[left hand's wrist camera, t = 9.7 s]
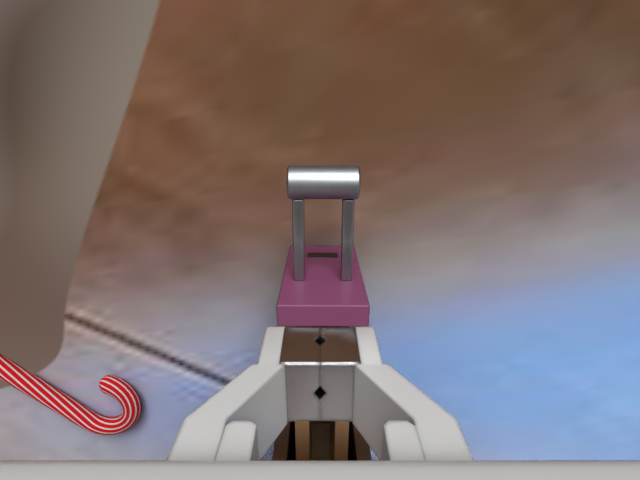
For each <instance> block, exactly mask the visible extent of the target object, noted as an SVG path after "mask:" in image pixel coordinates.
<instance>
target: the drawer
mask: <svg viewBox="0 0 640 480" xmlns="http://www.w3.org/2000/svg"><path fill="white" fill-rule="evenodd" d="M287 194H288V198H289V199H293V200H292V218H293V246H290V249H289V254H288V258H287V262H286V267H285V271H284V275H283V280H282V284H281V289H280V293H279V297H278V302H277V325H278V326H296V327H320V328H329V327H349V326H350V327H362V326H368V325H369V309H370V306H369V302H368V298H367V294H366V290H365V286H364V283H363V279H362V275H361V271H360V267H359V263H358V259H357V255H356V252H355V248H354V246H353V230H354V202H355V201H354V199H358V198H359V194H360V168H359V166H357V165H289V166H288V168H287ZM304 199H342V233H341V246H305V230H304ZM348 441H349V421H295V447H296V461H348Z"/></svg>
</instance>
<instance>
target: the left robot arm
mask: <svg viewBox="0 0 640 480" xmlns="http://www.w3.org/2000/svg"><path fill="white" fill-rule="evenodd" d="M291 421H349V422H353V424H354V426H355V427H356V428H357V430H358V431H359V433H360V434H361V435H362V437H363V438H364V439H365V441H366V442H367V443H368V445H369V446H370V448H371V449H372V450H373V452H374V453H375V454H376V456H377V457H378V458H379V460H358V461H260V460H261V459H262V457H263V456H264V455H265V453H266V452H267V451H268V449H269V448H270V447H271V445H272V444H273V442H274V441H275V440H276V438H277V437H278V436H279V434H280V433H281V432H282V430H283V429H284V428H285V426H286V425H287V422H291ZM0 480H640V460H551V461H474V460H473V458H472V456H471V453H470V451H469V448H468V446H467V444H466V441H465V439H464V437H463V434H462V432H461V429H460V427H459V425H458V422H457V420H456V419H455V418H454V417H453V416H451V415H450V414H449V413H448V412H446V411H445V410H444V409H443V408H442V407H440V406H439V405H438V404H437V403H435V402H434V401H433V400H432V399H430V398H429V397H428V396H427V395H425V394H424V393H423V392H422V391H421V390H419V389H418V388H417V387H416V386H414V385H413V384H412V383H411V382H409V381H408V380H407V379H406V378H404V377H403V376H402V375H401V374H399V373H398V372H397V371H396V370H395V369H393V368H392V367H391V366H390V365H388V364H383V363H382V359H381V355H380V351H379V347H378V342H377V338H376V334H375V330H374V327H373V326H362V327H329V328H320V327H288V326H286V327H284V326H268V327H267V328H266V329H265V334H264V338H263V342H262V346H261V351H260V355H259V359H258V363H257V364H252V365H250V366H249V367H248V368H247V369H245V370H244V371H243V372H242V373H241V374H239V375H238V376H237V377H236V378H234V379H233V380H232V381H231V382H229V383H228V384H227V385H226V386H224V387H223V388H222V389H221V390H219V391H218V392H217V393H216V394H214V395H213V396H212V397H211V398H209V399H208V400H207V401H206V402H204V403H203V404H202V405H201V406H199V407H198V408H197V409H196V410H195V411H193V412H192V413H191V414H190V415H188V416H187V417H186V418H185V419H184V420H183V423H182V425H181V427H180V430H179V432H178V434H177V437H176V439H175V442H174V444H173V446H172V449H171V451H170V453H169V456H168V458H167V460H166V461H0Z"/></svg>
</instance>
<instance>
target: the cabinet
mask: <svg viewBox="0 0 640 480" xmlns="http://www.w3.org/2000/svg"><path fill="white" fill-rule="evenodd" d="M358 460H371V454H370V447H369V445H368V443H367V442H366V441H365V439H364V438H363V437H362V435H361V434H360V433H359V431H358V430H357V428H356V427H355V426H354V424H353V422H349V441H348V461H358ZM272 461H296V447H295V421H291V422H287V425H286V426H285V428H284V429H283V430H282V432H281V433H280V434H279V436H278V437H277V438H276V440H275V443H274V450H273V457H272Z"/></svg>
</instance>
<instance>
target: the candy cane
mask: <svg viewBox="0 0 640 480" xmlns="http://www.w3.org/2000/svg"><path fill="white" fill-rule="evenodd" d="M0 379H1V380H3V381H5V382H6V383H8V384H10V385H11V386H13V387H15V388H16V389H18V390H20V391H21V392H23V393H25V394H26V395H28V396H30V397H31V398H33V399H35V400H36V401H38V402H40V403H41V404H43V405H45V406H46V407H48V408H50V409H51V410H53V411H55V412H56V413H58V414H60V415H61V416H63V417H65V418H66V419H68V420H70V421H71V422H73V423H75V424H76V425H78V426H80V427H81V428H83V429H85V430H87V431H90V432H92V433H96V434H102V435H113V434H118V433H121V432H124V431H126V430H128V429H129V428H131V427H132V426H133V425H134V424H135V423H136V421H137V420H138V418H139V416H140V413H141V401H140V397H139V395H138V393H137V392H136V390H135V389H134V388H133V387H132V386H131V385H130V384H129V383H127V382H126V381H124V380H123V379H120V378H119V377H116V376H113V375H107V376H105V377H103V378H102V379H101V380H100V383H99V388H100V390H101V391H102V392H103V393H106V394H109V395H111V396H112V397H114V398H115V399H117V400H118V401H119V402H120V404H121V405H122V408H123V413H122V414H121V415H119V416H116V417H107V416H102V415H100V414H98V413H95V412H94V411H92V410H91V409H89V408H87V407H86V406H84V405H83V404H81V403H79V402H78V401H76V400H74V399H73V398H71V397H70V396H68V395H66V394H65V393H63V392H62V391H60V390H58V389H57V388H55V387H53V386H52V385H50V384H49V383H47V382H45V381H44V380H42V379H40V378H39V377H37V376H36V375H34V374H32V373H31V372H29V371H28V370H26V369H24V368H23V367H21V366H19V365H18V364H16V363H15V362H13V361H11V360H10V359H8V358H7V357H5V356H3V355H2V354H0Z"/></svg>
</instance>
